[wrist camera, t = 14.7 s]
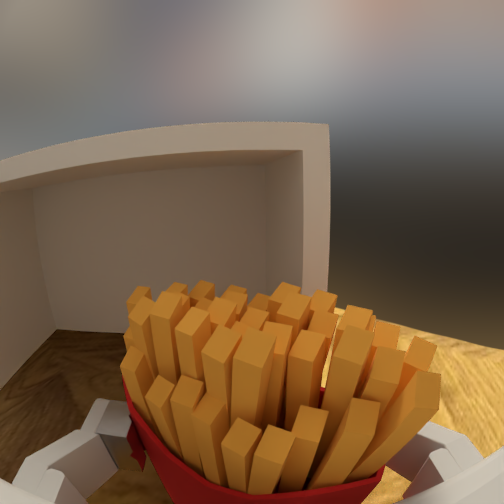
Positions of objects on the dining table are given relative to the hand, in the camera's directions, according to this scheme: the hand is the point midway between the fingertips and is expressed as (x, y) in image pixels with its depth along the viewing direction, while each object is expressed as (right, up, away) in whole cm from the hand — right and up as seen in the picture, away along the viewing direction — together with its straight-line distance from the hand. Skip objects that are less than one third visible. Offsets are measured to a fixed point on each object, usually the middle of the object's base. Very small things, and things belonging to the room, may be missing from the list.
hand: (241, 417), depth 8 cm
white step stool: (-10, -5, +14) cm, 17 cm away
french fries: (0, -8, +1) cm, 8 cm away
